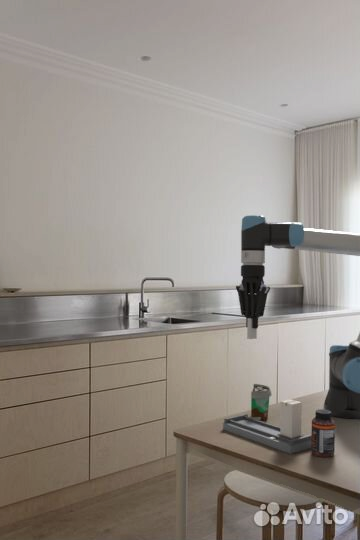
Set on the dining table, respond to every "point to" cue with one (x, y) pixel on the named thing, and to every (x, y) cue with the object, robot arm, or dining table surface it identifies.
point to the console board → (265, 433)
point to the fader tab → (290, 419)
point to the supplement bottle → (323, 434)
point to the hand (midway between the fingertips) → (251, 338)
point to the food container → (260, 402)
